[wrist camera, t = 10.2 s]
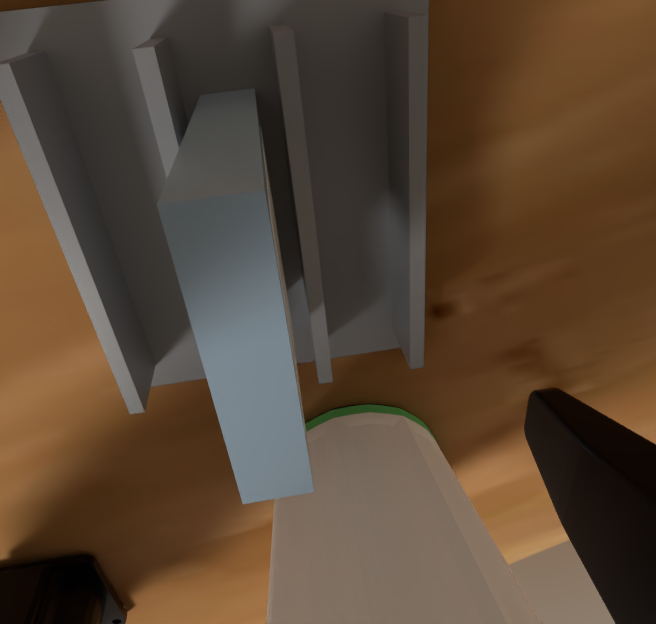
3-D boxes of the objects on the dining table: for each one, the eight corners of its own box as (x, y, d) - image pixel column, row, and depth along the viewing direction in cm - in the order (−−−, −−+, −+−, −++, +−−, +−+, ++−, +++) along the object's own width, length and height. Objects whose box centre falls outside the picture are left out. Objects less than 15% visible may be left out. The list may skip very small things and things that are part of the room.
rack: (417, 330, 22) (444, 385, 19) (133, 374, 21) (115, 438, 18) (419, -34, 15) (463, -39, 12) (-6, 12, 14) (-73, 19, 11)
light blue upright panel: (287, 291, 19) (315, 491, 12) (242, 297, 19) (242, 504, 11) (255, 88, 15) (266, 189, 8) (199, 95, 15) (154, 204, 8)
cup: (232, 548, 28) (221, 1010, 16) (229, 370, 22) (208, 914, 9) (446, 533, 30) (593, 932, 18) (503, 366, 24) (801, 806, 11)
